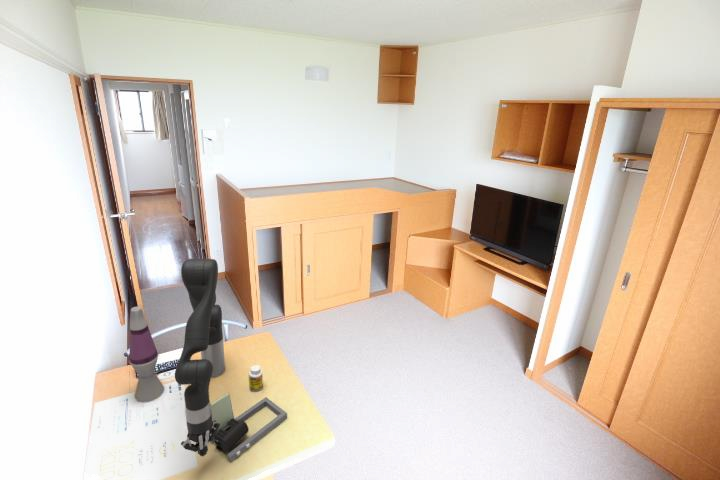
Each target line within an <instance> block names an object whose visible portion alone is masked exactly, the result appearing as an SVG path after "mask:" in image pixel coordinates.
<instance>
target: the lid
mask: <svg viewBox="0 0 720 480" xmlns="http://www.w3.org/2000/svg"><path fill="white" fill-rule="evenodd" d="M210 404H211V412H212V421H214V420H216V421H217V422H218V423H219V424H220V426H219V428H218V430H217V432H218V431H219V430H220V429H224V428H225V427H226V426H228V425H227V422H229V421H230V420H231V419H232V418H233V419H235V415H234V410H233V403H232V398H231V394H230V393H229V392H228V393H227V394H224V395H223V396H222V397H220V398H219V399H217V400H216V401H214V402H212V403H210ZM217 432H216V433H217ZM211 434H212V433H211ZM211 434H210V436H211Z"/></svg>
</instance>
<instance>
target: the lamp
mask: <svg viewBox="0 0 720 480" xmlns="http://www.w3.org/2000/svg"><path fill="white" fill-rule="evenodd" d="M129 318H130V319H129V330H130V331H129V332H130V333H129V360H128V363H129V364H130V366H131V367H132V369H133V370H134V371H135V372H136V374H137V375H138V376H139V377H138V380H137V383H136V384H137V385H136V389H135V392H134V399H135V400H136V401H137V402H141V403H146V402H152V401H154V400H156V399H159V397H161V395H162V394H163V393H164V391H165V386H164V385H163V383H162V382H161V380H160V379H159V377H158V376H157V374H156V373H155V370H156V369H155V368H156V366H157V362H158V357H159V352H158V350H157V347H156V345H155V342H154V339H153V336H152V333H151V331H150V329H149V325H148V322H147V319H146V317H145V314H144V311H143V309H142V307H141V306H138V305H137V306H133V307H131V309H130V317H129Z"/></svg>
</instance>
